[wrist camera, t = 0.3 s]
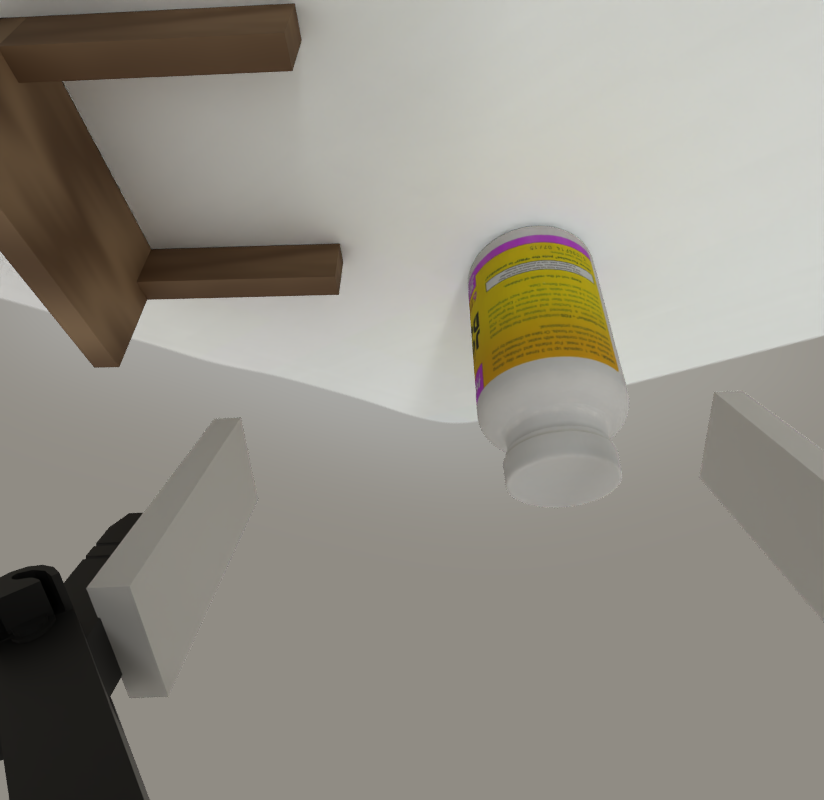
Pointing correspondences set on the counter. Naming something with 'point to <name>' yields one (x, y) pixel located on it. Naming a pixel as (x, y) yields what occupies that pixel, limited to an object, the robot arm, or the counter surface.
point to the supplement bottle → (546, 367)
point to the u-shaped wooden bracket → (94, 185)
